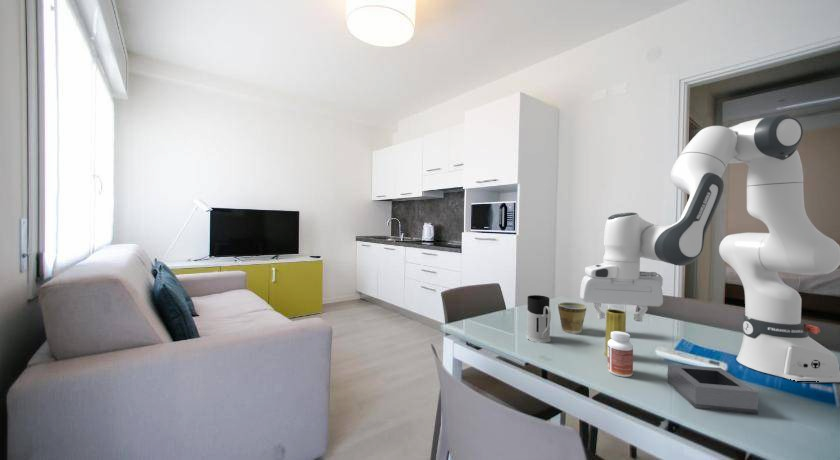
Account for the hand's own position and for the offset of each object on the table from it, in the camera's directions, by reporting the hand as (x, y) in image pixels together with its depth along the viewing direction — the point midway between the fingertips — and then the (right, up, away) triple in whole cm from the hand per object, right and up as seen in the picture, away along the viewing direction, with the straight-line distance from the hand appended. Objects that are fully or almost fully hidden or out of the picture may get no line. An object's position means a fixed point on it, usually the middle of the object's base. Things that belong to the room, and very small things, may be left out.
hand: (619, 319), depth 92 cm
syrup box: (+18, -14, +32) cm, 39 cm away
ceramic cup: (+3, -14, +37) cm, 39 cm away
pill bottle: (0, -15, 0) cm, 15 cm away
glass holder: (-13, -15, +25) cm, 31 cm away
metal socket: (+14, -15, -13) cm, 24 cm away
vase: (+6, -15, +12) cm, 20 cm away
